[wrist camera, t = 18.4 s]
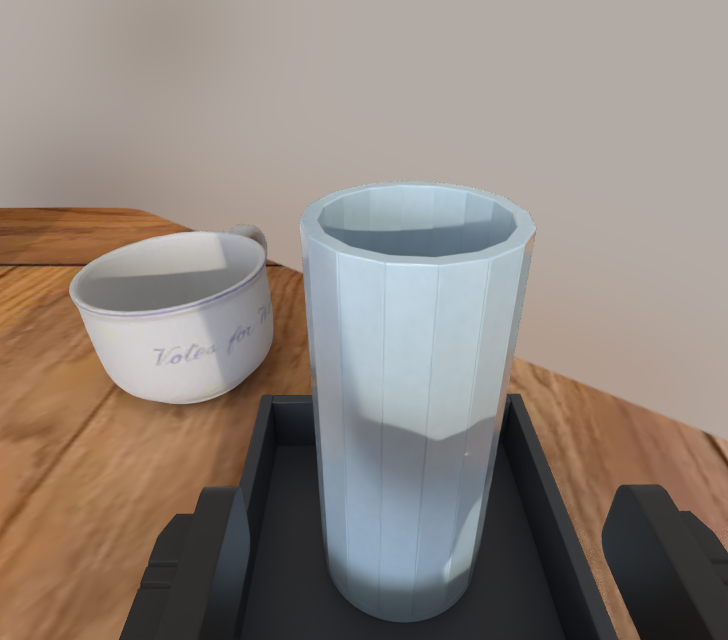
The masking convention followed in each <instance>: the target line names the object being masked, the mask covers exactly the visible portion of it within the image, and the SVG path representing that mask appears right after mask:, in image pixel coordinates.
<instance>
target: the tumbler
mask: <svg viewBox="0 0 728 640" xmlns="http://www.w3.org/2000/svg"><path fill="white" fill-rule="evenodd" d="M300 233H301V234H300V235H301V248H302V260H303V275H304V289H305V303H306V316H307V330H308V343H309V357H310V370H311V384H312V398H313V411H314V425H315V438H316V452H317V466H318V479H319V493H320V506H321V520H322V534H323V546H324V550H325V557H326V563H327V568H328V571H329V574H330V576H331V578H332V580H333V582H334V584H335V586H336V587H337V589H338V590H339V592H340V593H341V594H342V595H343V596H344V597H345V598H346V599H347V600H348V601H349V602H350V603H351V604H352V605H354V606H355V607H356V608H358V609H359V610H361V611H363V612H364V613H366V614H368V615H371V616H373V617H375V618H379V619H382V620H385V621H391V622H401V623H408V622H418V621H422V620H427V619H430V618H432V617H435V616H437V615H439V614H441V613H443V612H444V611H446V610H448V609H449V608H450V607H452V606H453V605H454V604H455V603H456V602H457V601H458V600H459V599H460V598H461V597H462V595H463V594H464V593H465V591H466V590H467V588H468V586H469V584H470V582H471V579H472V576H473V573H474V567H475V565H476V562H477V559H478V553H479V547H480V542H481V536H482V531H483V525H484V519H485V514H486V508H487V503H488V497H489V492H490V486H491V480H492V475H493V469H494V464H495V458H496V453H497V447H498V441H499V436H500V430H501V425H502V419H503V413H504V408H505V402H506V397H507V391H508V386H509V380H510V374H511V369H512V363H513V358H514V351H515V347H516V341H517V335H518V330H519V323H520V318H521V313H522V307H523V302H524V296H525V291H526V285H527V279H528V273H529V268H530V263H531V257H532V252H533V246H534V241H535V235H536V227H535V224H534V222H533V220H532V218H531V215H530V213H529V212H528V211H527V210H525V209H524V208H522V207H520V206H519V205H517V204H516V203H514V202H512V201H511V200H509V199H508V198H505V197H502V196H499V195H496V194H492V193H489V192H486V191H483V190H480V189H476V188H472V187H466V186H459V185H452V184H445V183H437V182H409V181H401V182H399V181H397V182H387V183H375V184H365V185H360V186H356V187H352V188H348V189H344V190H340V191H336V192H333V193H330V194H328V195H326V196H324V197H322V198H320V199H318V200H316V201H314V202H313V203H311V204H310V205H308V207H307V209H306V210H305V212H304V214H303V215H302V217H301V218H300Z"/></svg>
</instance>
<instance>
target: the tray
mask: <svg viewBox="0 0 728 640" xmlns="http://www.w3.org/2000/svg"><path fill="white" fill-rule="evenodd" d="M239 487H241V489H242V494H243V499H244V504H245V510H246V515H247V520H248V526H249V531H250V551H249V559H248V565H247V570H246V575H245V580H244V585H243V590H242V595H241V600H240V605H239V610H238V615H237V620H236V625H235V630H234V635H233V640H619V639H618V637H617V635H616V632H615V630H614V627H613V625H612V622H611V620H610V617H609V615H608V612H607V610H606V607H605V605H604V602H603V600H602V597H601V595H600V592H599V590H598V587H597V585H596V582H595V580H594V577H593V575H592V572H591V570H590V567H589V565H588V562H587V560H586V557H585V555H584V552H583V550H582V547H581V545H580V542H579V540H578V537H577V535H576V532H575V530H574V527H573V525H572V522H571V520H570V517H569V515H568V512H567V510H566V507H565V505H564V502H563V500H562V497H561V495H560V492H559V490H558V487H557V485H556V482H555V480H554V477H553V475H552V472H551V470H550V467H549V465H548V462H547V460H546V457H545V455H544V452H543V450H542V447H541V445H540V442H539V440H538V437H537V435H536V432H535V430H534V427H533V425H532V422H531V420H530V417H529V415H528V412H527V410H526V407H525V405H524V402H523V400H522V397H521V395H520V394H509V395H508V394H507V397H506V402H505V408H504V413H503V419H502V425H501V430H500V436H499V441H498V447H497V453H496V458H495V464H494V469H493V475H492V480H491V486H490V492H489V497H488V503H487V508H486V514H485V519H484V525H483V531H482V536H481V542H480V547H479V553H478V559H477V562H476V565H475V567H474V573H473V576H472V579H471V582H470V584H469V586H468V588H467V590H466V591H465V593H464V594H463V595H462V597H461V598H460V599H459V600H458V601H457V602H456V603H455V604H454V605H453V606H452V607H450V608H449V609H448V610H446V611H444V612H443V613H441V614H439V615H437V616H435V617H432V618H430V619H427V620H422V621H418V622H408V623H401V622H391V621H385V620H382V619H379V618H375V617H373V616H371V615H368V614H366V613H364V612H363V611H361V610H359V609H358V608H356V607H355V606H354V605H352V604H351V603H350V602H349V601H348V600H347V599H346V598H345V597H344V596H343V595H342V594H341V593H340V592H339V590H338V589H337V587H336V586H335V584H334V582H333V580H332V578H331V576H330V574H329V571H328V568H327V563H326V557H325V550H324V546H323V534H322V520H321V506H320V493H319V479H318V466H317V452H316V438H315V425H314V411H313V398H312V395H274V397H273V395H263V396H262V397H261V401H260V405H259V409H258V413H257V417H256V421H255V425H254V429H253V433H252V437H251V441H250V445H249V449H248V453H247V457H246V461H245V465H244V469H243V473H242V477H241V481H240V485H239Z"/></svg>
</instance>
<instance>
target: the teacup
mask: <svg viewBox="0 0 728 640" xmlns="http://www.w3.org/2000/svg"><path fill="white" fill-rule="evenodd" d="M266 259H267V243H266V240H265V237H264V234H263V233H262V231H261V230H260V229H259V228H257V227H256V226H253V225H245V224H241V225H237V226H235V227H233V228H232V229H231V230H230V231H229V232H228V233H227V232H216V231H202V232H200V231H196V232H183V233H176V234H168V235H166V236H160V237H154V238H149V239H146V240H143V241H139V242H136V243H133V244H130V245H127V246H124V247H121V248H118V249H116V250H114V251H111V252H109V253H107V254H105V255H103V256H101V257H99V258H97V259H96V260H94V261H92V262H91V263H89V264H88V265H86V266H85V267H84V268H83V269H82V270H81V271H79V272H78V273H77V274H76V275H75V277H74V278H73V280H72V281H71V284H70V288H69V293H70V296H71V298H72V301H73V302H74V304H75V305H76V306H77V307H78V309H79V311H80V314H81V316H82V319H83V321H84V324H85V326H86V329H87V331H88V334H89V336H90V339H91V341H92V343H93V346H94V348H95V350H96V353H97V355H98V357H99V359H100V361H101V363H102V365H103V367H104V368H105V370H106V372H107V373H108V375H109V376H110V378H111V379H112V380H113V381H114V382H115V383H116V384H117V385H118V386H119V387H121V388H122V389H123V390H125V391H126V392H128V393H130V394H132V395H134V396H136V397H139V398H142V399H146V400H151V401H157V402H164V403H170V404H191V403H198V402H203V401H207V400H210V399H213V398H216V397H218V396H220V395H223V394H225V393H226V392H228V391H230V390H232V389H233V388H235V387H236V386H238V385H239V384H240V383H241V382H243V381H244V380H245V379H246V378H247V377H248V376H249V375H250V374H251V373H252V372H253V371H255V370H256V369H257V368H258V366H259V365H260V364H261V363H262V362H263V360H264V359H265V357H266V356H267V354H268V352H269V350H270V347H271V344H272V340H273V333H274V322H273V310H272V302H271V296H270V289H269V283H268V278H267V272H266V267H265V265H266Z"/></svg>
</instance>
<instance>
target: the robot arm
mask: <svg viewBox="0 0 728 640" xmlns="http://www.w3.org/2000/svg"><path fill="white" fill-rule="evenodd" d="M602 547H603V552H604V556H605V559H606V561H607V564H608V566H609V568H610V570H611V573H612V575H613V577H614V580H615V582H616V584H617V586H618V589H619V591H620V593H621V595H622V598H623V600H624V602H625V605H626V607H627V609H628V611H629V614H630V616H631V618H632V621H633V623H634V625H635V627H636V630H637V632H638V634H639V637H640V639H641V640H728V553H727V551H726V550H725V548H724V547H723V545H722V544H721V542H720V541H719V539H718V538H717V536H716V535H715V533H714V532H713V531H712V530H711V529H709V528H708V527H707V526H706V525H705V524H704V523H703V522H701V521H700V520H699V519H698V518H697V517H696V516H695V515H694V514H692V513H691V512H690V511H679V510H678V508H677V507H676V505H675V504H674V502H673V500H672V499H671V497H670V496H669V494H668V493H667V491H666V490H665V489H664V488H663V487H662V486H660V485H656V484H655V485H621V486H619V488H618V489H617V491H616V494H615V497H614V500H613V502H612V505H611V508H610V510H609V513H608V516H607V519H606V521H605V524H604V527H603V530H602ZM249 551H250V531H249V526H248V520H247V515H246V510H245V504H244V499H243V494H242V489H241V487H239V486H231V487H204V488H203V489H202V491H201V493H200V496H199V499H198V502H197V505H196V508H195V512H194V514H176V515H175V516H174V517H173V519H172V520H171V521H170V522H169V523H168V525H167V526H166V527H165V528H164V529H163V531H162V532H161V533H160V534H159V536H158V537H157V540H156V543H155V545H154V548H153V551H152V553H151V556H150V559H149V561H148V562H149V564H148V567H146V569H145V572H144V575H143V577H142V580H141V583H140V584H141V585H140V588H139V589H138V591H137V593H136V596H135V599H134V601H133V604H132V607H131V609H130V612H129V615H128V617H127V620H126V622H125V625H124V628H123V630H122V633H121V636H120V638H119V640H233V635H234V630H235V625H236V620H237V615H238V610H239V605H240V600H241V595H242V590H243V585H244V580H245V575H246V570H247V565H248V559H249Z"/></svg>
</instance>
